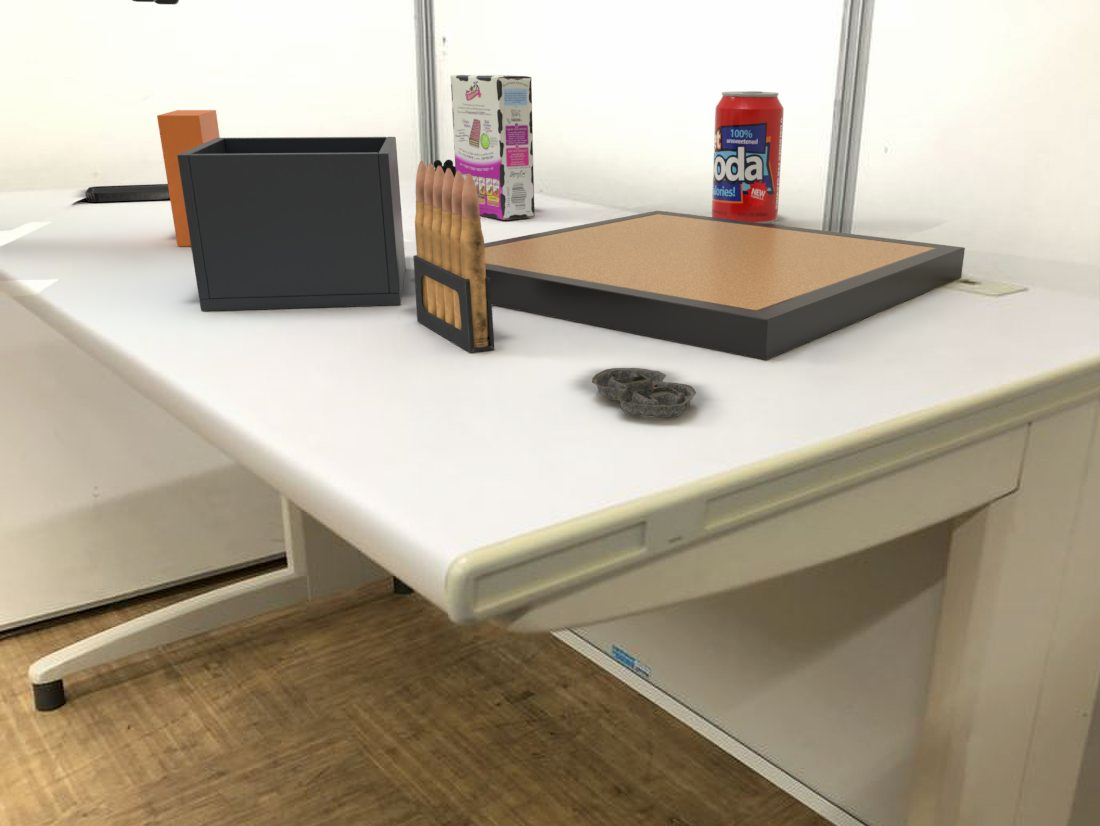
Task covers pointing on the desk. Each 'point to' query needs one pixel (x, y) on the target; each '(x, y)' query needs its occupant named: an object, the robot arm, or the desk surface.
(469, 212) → the ammunition clip
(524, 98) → the candy bar box
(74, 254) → the desk surface
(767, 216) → the soda can
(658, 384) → the corroded twin loop
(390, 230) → the trash can
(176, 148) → the block
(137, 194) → the phone
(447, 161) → the wireless earbuds
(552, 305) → the cork board
